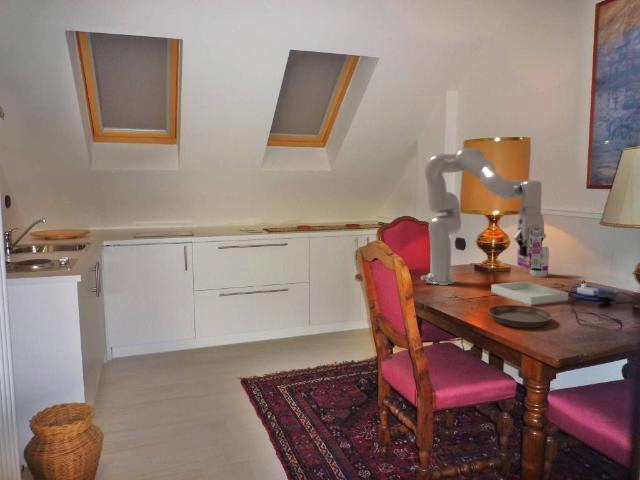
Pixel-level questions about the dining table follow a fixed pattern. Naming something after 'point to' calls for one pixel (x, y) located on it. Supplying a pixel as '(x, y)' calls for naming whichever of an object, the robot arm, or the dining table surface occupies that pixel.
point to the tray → (529, 293)
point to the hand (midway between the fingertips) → (529, 254)
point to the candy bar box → (532, 250)
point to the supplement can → (542, 264)
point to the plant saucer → (520, 316)
